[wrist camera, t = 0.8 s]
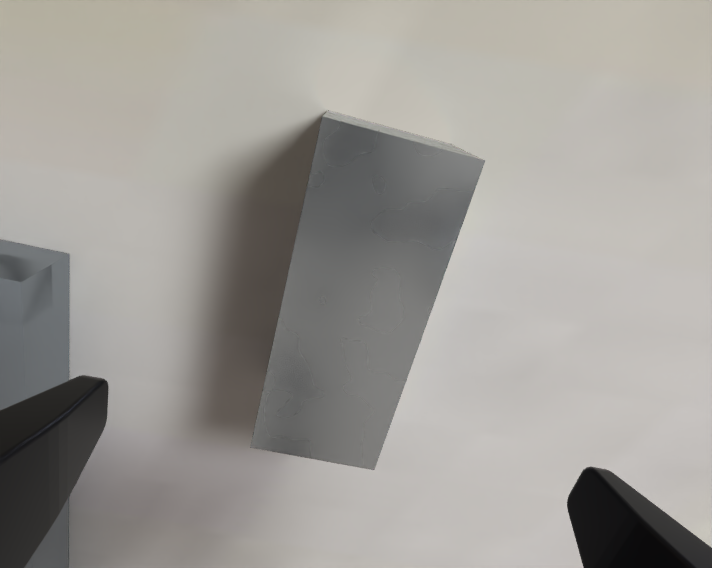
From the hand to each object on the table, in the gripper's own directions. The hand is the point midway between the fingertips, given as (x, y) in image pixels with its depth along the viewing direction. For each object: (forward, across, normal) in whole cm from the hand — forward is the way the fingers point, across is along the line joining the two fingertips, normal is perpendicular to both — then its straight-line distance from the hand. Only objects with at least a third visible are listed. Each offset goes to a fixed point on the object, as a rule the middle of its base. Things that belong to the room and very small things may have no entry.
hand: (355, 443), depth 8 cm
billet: (+9, 0, 0) cm, 9 cm away
